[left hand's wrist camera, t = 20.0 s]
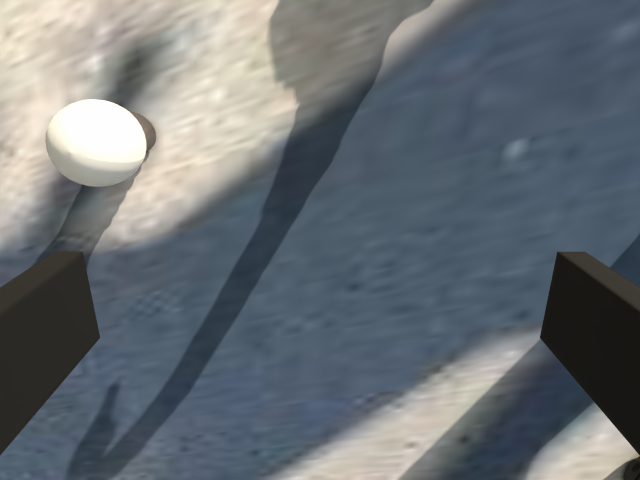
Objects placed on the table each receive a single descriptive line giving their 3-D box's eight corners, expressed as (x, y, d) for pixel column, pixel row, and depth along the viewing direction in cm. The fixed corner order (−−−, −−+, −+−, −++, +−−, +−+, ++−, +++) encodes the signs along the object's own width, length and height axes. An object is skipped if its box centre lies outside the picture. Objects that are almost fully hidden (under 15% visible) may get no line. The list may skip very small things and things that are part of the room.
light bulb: (177, 113, 40) (128, 125, 30) (158, 179, 43) (106, 212, 32) (105, 84, 40) (29, 86, 29) (89, 153, 42) (13, 177, 31)
